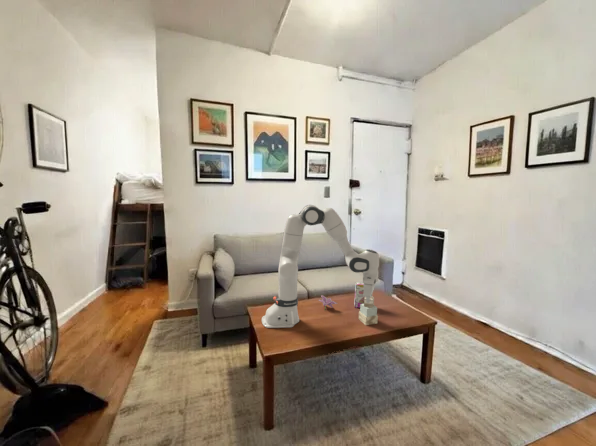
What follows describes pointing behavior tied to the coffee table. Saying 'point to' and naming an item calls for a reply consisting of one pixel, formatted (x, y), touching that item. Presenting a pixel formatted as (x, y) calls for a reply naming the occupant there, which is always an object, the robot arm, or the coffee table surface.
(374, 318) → the tower base
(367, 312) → the tower top
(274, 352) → the coffee table surface
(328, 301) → the lily
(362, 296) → the candy bar box
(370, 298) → the cube
